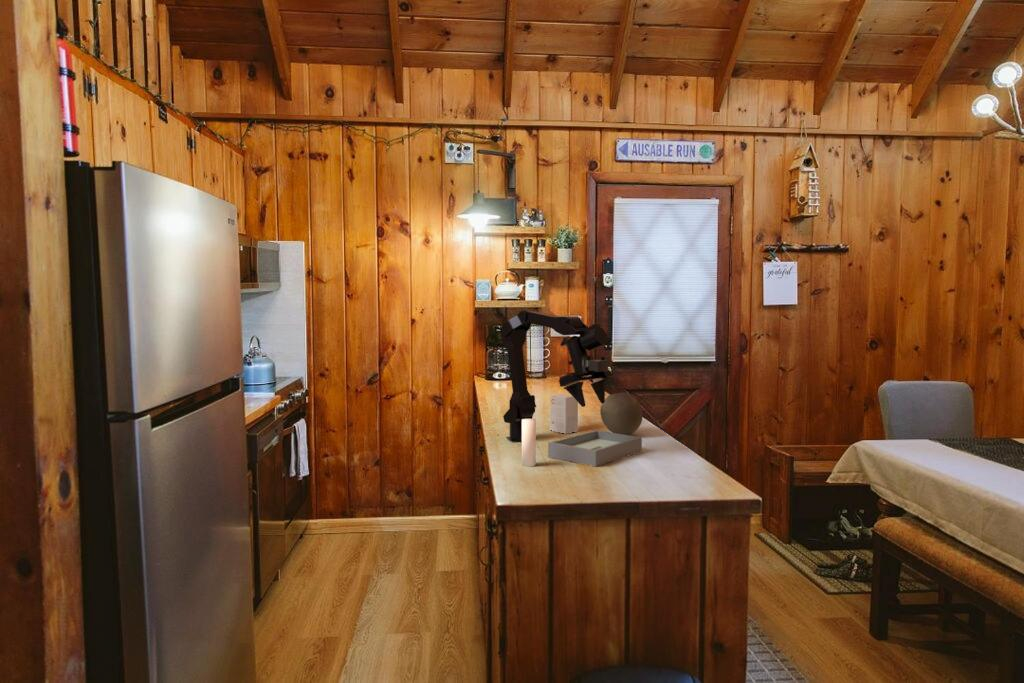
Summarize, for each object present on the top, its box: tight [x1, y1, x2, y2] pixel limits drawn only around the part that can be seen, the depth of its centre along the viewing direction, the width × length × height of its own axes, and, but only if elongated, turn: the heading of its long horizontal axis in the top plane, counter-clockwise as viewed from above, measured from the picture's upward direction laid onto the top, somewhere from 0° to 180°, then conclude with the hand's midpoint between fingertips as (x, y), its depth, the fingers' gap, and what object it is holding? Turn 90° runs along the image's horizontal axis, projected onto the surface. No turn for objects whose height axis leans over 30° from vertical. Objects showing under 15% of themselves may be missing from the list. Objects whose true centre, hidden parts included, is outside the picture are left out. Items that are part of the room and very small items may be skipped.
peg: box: [521, 418, 537, 468], centre depth 186 cm, size 4×4×13 cm
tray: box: [547, 429, 643, 467], centre depth 199 cm, size 17×25×4 cm
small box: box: [549, 393, 579, 435], centre depth 233 cm, size 8×6×13 cm
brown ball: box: [599, 392, 644, 436], centre depth 226 cm, size 14×14×15 cm
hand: (593, 404), depth 196 cm, fingers open, 9 cm apart
